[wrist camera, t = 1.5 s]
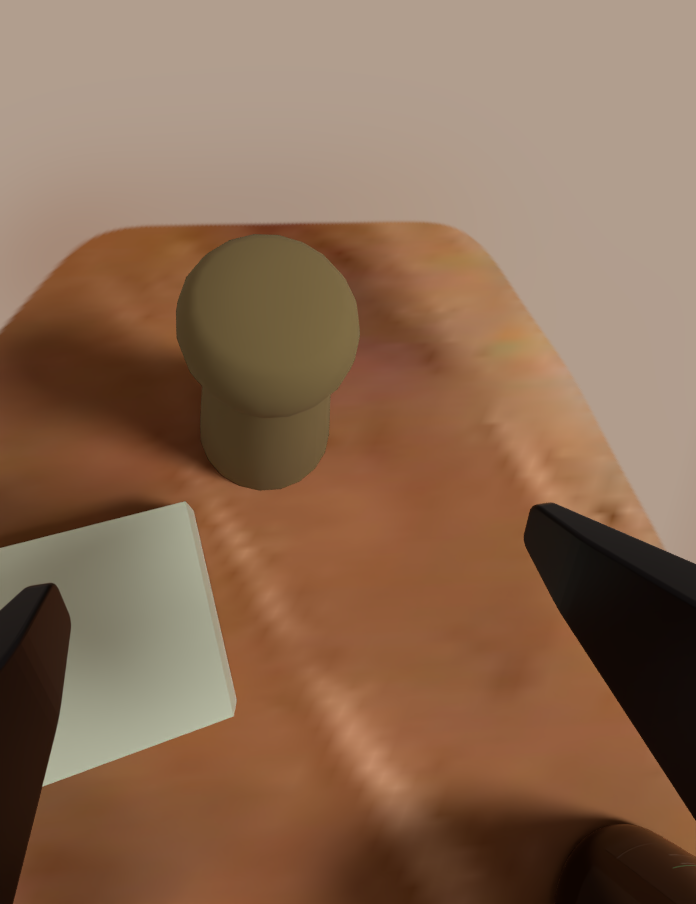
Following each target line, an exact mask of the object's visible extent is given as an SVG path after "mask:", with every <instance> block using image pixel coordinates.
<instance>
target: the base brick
mask: <svg viewBox="0 0 696 904" xmlns="http://www.w3.org/2000/svg"><path fill="white" fill-rule="evenodd" d="M44 583H54V584H56V586H57V587H58V588H59V591H60V593H61V595H62V598H63V600H64V603H65V605H66V607H67V610H68V612H69V615H70V619H71V634H70V641H69V649H68V657H67V664H66V672H65V680H64V687H63V695H62V703H61V709H60V716H59V721H58V725H57V730H56V734H55V738H54V742H53V746H52V750H51V754H50V758H49V762H48V766H47V770H46V774H45V778H44V782H43V786H45V785H48V784H51V783H53V782H56V781H59V780H62V779H64V778H67V777H70V776H72V775H75V774H78V773H81V772H83V771H86V770H89V769H92V768H94V767H97V766H100V765H102V764H105V763H108V762H111V761H113V760H116V759H119V758H121V757H124V756H127V755H130V754H132V753H135V752H138V751H141V750H143V749H146V748H149V747H151V746H154V745H157V744H160V743H162V742H165V741H168V740H170V739H173V738H176V737H179V736H181V735H184V734H187V733H190V732H192V731H195V730H198V729H200V728H203V727H206V726H209V725H211V724H214V723H217V722H219V721H222V720H225V719H228V718H230V717H233V716H234V712H235V707H236V701H237V700H236V695H235V691H234V686H233V682H232V678H231V673H230V669H229V664H228V660H227V656H226V651H225V647H224V642H223V638H222V634H221V629H220V625H219V620H218V616H217V612H216V607H215V603H214V598H213V594H212V590H211V585H210V581H209V576H208V572H207V568H206V563H205V559H204V554H203V550H202V546H201V541H200V537H199V532H198V528H197V524H196V519H195V515H194V511H193V510H192V508H191V507H190V506H189V505H188V504H187V503H186V501H185V502H181V503H177V504H173V505H169V506H165V507H161V508H157V509H153V510H149V511H145V512H141V513H137V514H133V515H129V516H125V517H121V518H117V519H114V520H110V521H106V522H102V523H98V524H94V525H90V526H86V527H82V528H78V529H74V530H70V531H66V532H62V533H58V534H54V535H50V536H46V537H42V538H38V539H34V540H30V541H26V542H23V543H19V544H15V545H11V546H7V547H3V548H0V610H1V609H2V608H3V607H4V606H5V605H6V604H7V603H9V602H10V601H11V600H12V599H13V598H14V597H15V596H16V595H17V594H18V593H20V592H21V591H22V590H23V589H24V588H26V587H28V586H32V585H38V584H44ZM43 786H42V787H43Z"/></svg>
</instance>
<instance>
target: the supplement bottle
mask: <svg viewBox="0 0 696 904" xmlns="http://www.w3.org/2000/svg"><path fill="white" fill-rule="evenodd" d="M555 904H696V857H695V856H693V855H692V854H690V853H688V852H687V851H685V850H684V849H682V848H680V847H679V846H677V845H675V844H674V843H672V842H670V841H668V840H667V839H665V838H663V837H662V836H660V835H658V834H656V833H654V832H652V831H650V830H648V829H646V828H643V827H640V826H636V825H630V824H614V825H609V826H605V827H602V828H600V829H598V830H596V831H594V832H592V833H591V834H589V835H588V836H586V837H585V838H584V839H583V840H582V841H581V842H580V843H579V844H578V845H577V846H576V847H575V848H574V850H573V851H572V853H571V854H570V856H569V857H568V859H567V861H566V863H565V865H564V867H563V870H562V872H561V875H560V878H559V882H558V886H557V891H556V896H555Z"/></svg>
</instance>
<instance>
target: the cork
mask: <svg viewBox="0 0 696 904" xmlns="http://www.w3.org/2000/svg"><path fill="white" fill-rule="evenodd" d="M176 332H177V340H178V343H179V346H180V348H181V351H182V353H183V356H184V358H185V361H186V363H187V366H188V368H189V371H190V373H191V374H192V375H193V376H194V377H195V379H196V380H197V381H198V382H199V383H200V384H201V385H202V396H201V414H200V433H201V443H202V445H203V448H204V450H205V453H206V455H207V458H208V460H209V461H210V462H211V463H212V465H213V466H214V467H215V468H216V469H217V470H218V472H219V473H220V474H221V475H222V476H224V477H226V478H227V479H229V480H231V481H232V482H234V483H236V484H237V485H239V486H243V487H247V488H251V489H256V490H273V489H282V488H284V487H287V486H289V485H292V484H294V483H297V482H299V481H301V480H302V479H303V478H304V477H305V476H307V475H308V474H309V473H310V472H311V471H313V470H314V469H315V467H316V466H317V464H318V463H319V461H320V459H321V458H322V456H323V454H324V453H325V449H326V445H327V440H328V436H329V419H330V395H331V394H332V393H333V392H334V391H336V390H337V389H338V387H339V386H340V384H341V383H342V381H343V380H344V378H345V376H346V375H347V373H348V372H349V370H350V369H351V366H352V364H353V362H354V360H355V356H356V351H357V347H358V342H359V337H360V330H359V320H358V312H357V304H356V300H355V298H354V296H353V294H352V292H351V290H350V288H349V286H348V284H347V282H346V280H345V278H344V277H343V276H342V274H341V273H340V272H339V271H338V270H337V269H336V268H335V267H334V266H333V265H332V264H331V262H330V261H329V260H328V259H327V258H326V257H325V256H324V255H323V254H321V253H319V252H318V251H316V250H315V249H313V248H311V247H310V246H308V245H306V244H305V243H303V242H300V241H297V240H293V239H290V238H287V237H283V236H280V235H259V234H253V235H249V236H245V237H241V238H237V239H233V240H229V241H228V242H226V243H224V244H222V245H221V246H219V247H217V248H216V249H214V250H212V251H211V252H209V253H208V254H207V255H205V256H204V257H203V258H202V259H201V260H200V262H199V263H198V264H197V265H196V266H195V267H194V269H193V270H192V271H191V272H190V273H189V275H188V276H187V277H186V280H185V282H184V285H183V288H182V291H181V293H180V296H179V299H178V303H177V309H176Z"/></svg>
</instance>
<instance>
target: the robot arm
mask: <svg viewBox="0 0 696 904" xmlns="http://www.w3.org/2000/svg"><path fill="white" fill-rule="evenodd" d="M524 543H525V546H526V549H527V551H528V553H529V554H530V556H531V558H532V560H533V562H534V564H535V566H536V568H537V570H538V572H539V574H540V576H541V578H542V580H543V581H544V583H545V585H546V587H547V589H548V591H549V593H550V595H551V597H552V599H553V601H554V602H555V604H556V606H557V608H558V610H559V611H560V613H561V615H562V616H563V618H564V619H565V621H566V622H567V624H568V626H569V627H570V629H571V630H572V632H573V633H574V635H575V636H576V638H577V639H578V641H579V642H580V644H581V645H582V647H583V649H584V650H585V652H586V653H587V655H588V656H589V658H590V659H591V661H592V662H593V664H594V665H595V667H596V668H597V670H598V672H599V673H600V675H601V676H602V678H603V679H604V681H605V682H606V684H607V685H608V687H609V688H610V690H611V691H612V693H613V695H614V696H615V698H616V699H617V701H618V702H619V704H620V705H621V707H622V708H623V710H624V711H625V713H626V714H627V716H628V718H629V719H630V721H631V722H632V724H633V725H634V727H635V728H636V730H637V731H638V733H639V734H640V736H641V737H642V739H643V741H644V742H645V744H646V745H647V747H648V748H649V750H650V751H651V753H652V754H653V756H654V757H655V759H656V760H657V762H658V764H659V765H660V767H661V768H662V770H663V771H664V773H665V774H666V776H667V777H668V779H669V780H670V782H671V783H672V785H673V787H674V788H675V790H676V791H677V793H678V794H679V796H680V797H681V799H682V800H683V802H684V803H685V805H686V806H687V808H688V810H689V811H690V813H691V814H692V816H693V817H694V819H695V820H696V564H694V563H692V562H690V561H687V560H685V559H683V558H680V557H678V556H676V555H673V554H671V553H669V552H666V551H664V550H662V549H659V548H657V547H655V546H652V545H650V544H648V543H646V542H643V541H641V540H639V539H636V538H634V537H632V536H629V535H627V534H625V533H622V532H620V531H618V530H615V529H613V528H611V527H608V526H606V525H604V524H601V523H599V522H597V521H594V520H592V519H590V518H587V517H585V516H583V515H580V514H578V513H576V512H573V511H571V510H569V509H566V508H564V507H562V506H560V505H557V504H555V503H543V504H536V505H534V506H533V507H532V508H531V509H530V512H529V516H528V520H527V524H526V528H525V532H524ZM70 634H71V619H70V615H69V612H68V610H67V607H66V605H65V603H64V600H63V598H62V595H61V593H60V591H59V588H58V587H57V586H56V584H54V583H44V584H38V585H32V586H28V587H26V588H24V589H23V590H22V591H21V592H20V593H18V594H17V595H16V596H15V597H14V598H13V599H12V600H11V601H10V602H9V603H7V604H6V605H5V606H4V607H3V608H2V609H1V610H0V904H13V901H14V897H15V893H16V889H17V885H18V882H19V878H20V874H21V870H22V866H23V862H24V858H25V854H26V850H27V846H28V842H29V838H30V834H31V830H32V826H33V822H34V818H35V814H36V810H37V806H38V802H39V798H40V794H41V790H42V786H43V782H44V778H45V774H46V770H47V766H48V762H49V758H50V754H51V750H52V746H53V742H54V738H55V734H56V730H57V725H58V721H59V716H60V709H61V703H62V695H63V687H64V680H65V672H66V664H67V657H68V649H69V641H70Z"/></svg>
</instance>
